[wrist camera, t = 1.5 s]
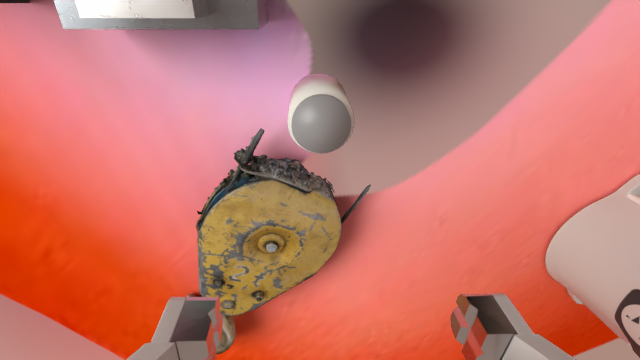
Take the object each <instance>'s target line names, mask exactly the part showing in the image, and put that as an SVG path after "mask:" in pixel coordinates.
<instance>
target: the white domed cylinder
mask: <svg viewBox="0 0 640 360" xmlns="http://www.w3.org/2000/svg"><path fill="white" fill-rule="evenodd" d="M353 128H354V114H353V111H352V108H351V106H350V104H349V101H348V99H347V96H346V94H345V91H344V89H343V87H342V86H341V84H340V83H339V82H338V81H337V80H336V79H334V78H333V77H331V76H329V75H326V74H312V75H308V76H306V77H304V78H303V79H301V80H300V81H299V82H298V83H297V84H296V85H295V87H294V89H293V91H292V94H291V98H290V106H289V114H288V129H289V133H290V135H291V137H292V139H293V140H294V141H295V143H296V144H297V145H298V146H300V147H301V148H303V149H304V150H306V151H309V152H312V153H320V154H321V153H329V152H332V151H335V150H336V149H338V148H340V147H341V146H343V145H344V144H345V143H346V142H347V140H348V139H349V138H350V136H351V134H352V132H353Z"/></svg>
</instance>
